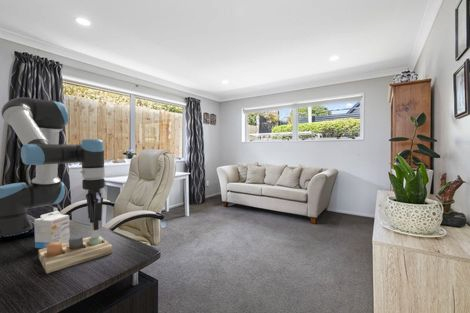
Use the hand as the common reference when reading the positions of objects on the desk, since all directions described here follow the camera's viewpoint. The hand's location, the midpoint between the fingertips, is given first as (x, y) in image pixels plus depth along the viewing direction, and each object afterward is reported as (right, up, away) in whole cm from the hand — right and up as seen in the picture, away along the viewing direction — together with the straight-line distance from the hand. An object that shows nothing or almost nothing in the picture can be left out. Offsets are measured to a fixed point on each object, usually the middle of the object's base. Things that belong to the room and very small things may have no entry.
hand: (95, 237), depth 93 cm
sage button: (0, -3, 0) cm, 3 cm away
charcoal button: (-4, -2, -5) cm, 7 cm away
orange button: (-9, -2, -9) cm, 13 cm away
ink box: (-21, -5, +5) cm, 22 cm away
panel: (-4, -5, -5) cm, 8 cm away
